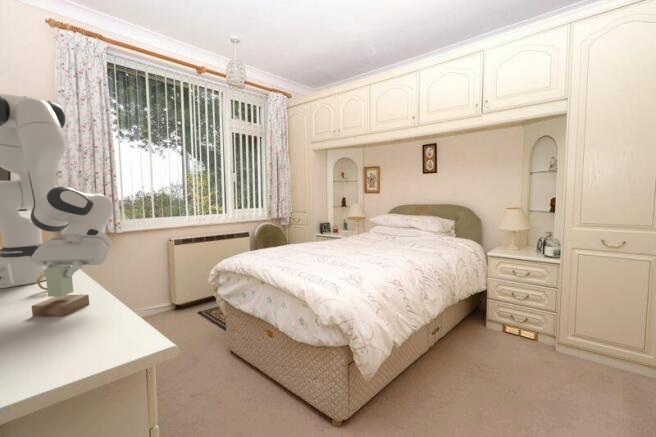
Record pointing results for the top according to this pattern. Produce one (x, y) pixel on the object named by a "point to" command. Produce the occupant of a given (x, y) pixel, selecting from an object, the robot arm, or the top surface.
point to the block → (58, 281)
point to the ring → (40, 279)
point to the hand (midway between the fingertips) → (57, 276)
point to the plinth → (60, 305)
